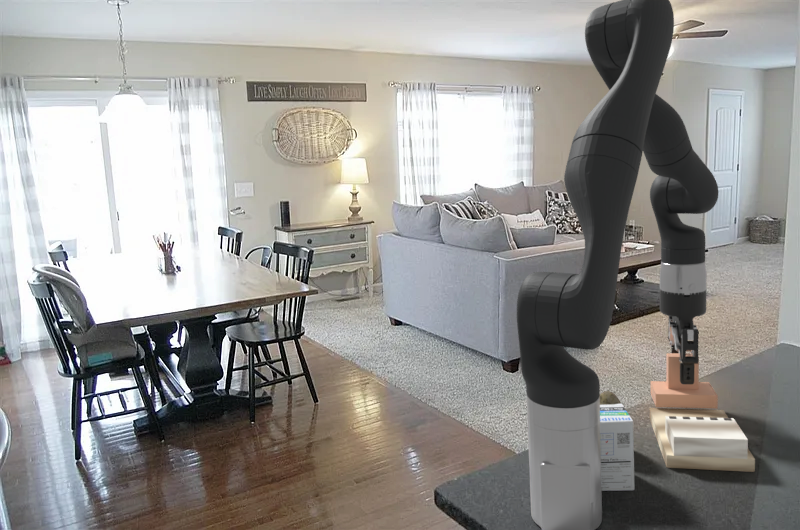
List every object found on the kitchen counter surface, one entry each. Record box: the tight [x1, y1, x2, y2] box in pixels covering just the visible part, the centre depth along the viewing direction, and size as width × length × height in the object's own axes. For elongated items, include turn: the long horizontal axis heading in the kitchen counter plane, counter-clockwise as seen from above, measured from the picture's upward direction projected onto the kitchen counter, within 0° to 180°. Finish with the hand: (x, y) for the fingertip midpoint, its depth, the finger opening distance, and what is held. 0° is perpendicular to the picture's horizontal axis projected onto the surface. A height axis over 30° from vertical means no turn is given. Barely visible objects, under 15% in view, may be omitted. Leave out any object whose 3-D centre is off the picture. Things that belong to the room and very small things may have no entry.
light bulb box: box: [600, 403, 635, 492], centre depth 91 cm, size 11×7×11 cm, turn 84°
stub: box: [650, 352, 719, 410], centre depth 111 cm, size 6×10×8 cm, turn 76°
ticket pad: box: [649, 407, 756, 473], centre depth 101 cm, size 18×12×5 cm, turn 166°
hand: (682, 375), depth 112 cm, fingers open, 8 cm apart
